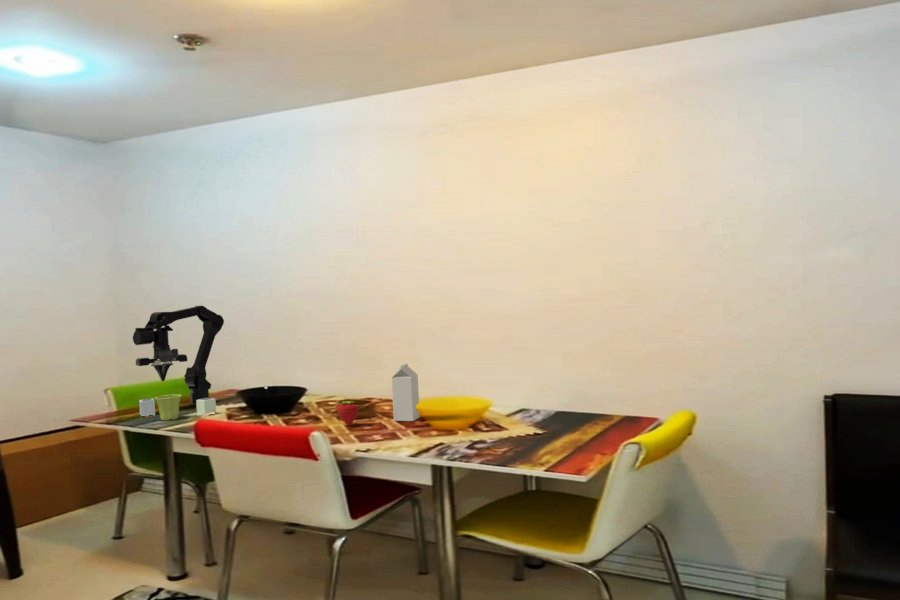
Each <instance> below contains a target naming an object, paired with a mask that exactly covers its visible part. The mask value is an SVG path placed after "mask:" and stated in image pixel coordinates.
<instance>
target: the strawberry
mask: <svg viewBox="0 0 900 600" xmlns="http://www.w3.org/2000/svg"><path fill="white" fill-rule="evenodd" d="M344 398H345V401H342V402H341V403H340V404H338V407H337V413H338V417H339V418H340V419H341V420H342V421H343V423H344V424H345V425H346V426H348V427H349V426H351V425H352V424H353V422H354V421H355V420H356V418H357V417H358V413H359V407H358V405H357V404H354V403H355V401H351V400H348V399H347V397H346V396H344ZM347 400H348V401H347Z"/></svg>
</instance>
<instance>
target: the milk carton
mask: <svg viewBox="0 0 900 600" xmlns="http://www.w3.org/2000/svg"><path fill="white" fill-rule="evenodd" d="M394 372H395V374H394V375H393V376H392V377H391V389H392V391H391V392H392V411H393V421H394V422H415V421H416V420H418V419H420V416H421V415H420V414H421V413H420V412H419V413H418V411H416V405H417V404H418V403H419V404H420V396H419V377H418V376H419V375H418V373H417V372H415V370H413V369H412V368H411V367H410V366H409V363H405V364H402V365H400V367H398V368H396V370H395V371H394Z"/></svg>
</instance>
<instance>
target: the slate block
mask: <svg viewBox="0 0 900 600" xmlns="http://www.w3.org/2000/svg"><path fill="white" fill-rule="evenodd" d="M138 401H139V416H140V415H141V416H145V417H150V416H149V415H153V416H156V407H155V406H156V403H155V398H143V399H139V400H138ZM141 416H140V417H141Z"/></svg>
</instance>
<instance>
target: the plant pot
mask: <svg viewBox="0 0 900 600" xmlns="http://www.w3.org/2000/svg"><path fill="white" fill-rule="evenodd" d="M181 397H182V394H174V393H173V394H165V395H160V396H156V397H154V400H156V404H157V409H158V411H159V417H160V421H169V420H172V421H173V420H176V419H178V418H179V415H180V413H179V412H180V401H181Z"/></svg>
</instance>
